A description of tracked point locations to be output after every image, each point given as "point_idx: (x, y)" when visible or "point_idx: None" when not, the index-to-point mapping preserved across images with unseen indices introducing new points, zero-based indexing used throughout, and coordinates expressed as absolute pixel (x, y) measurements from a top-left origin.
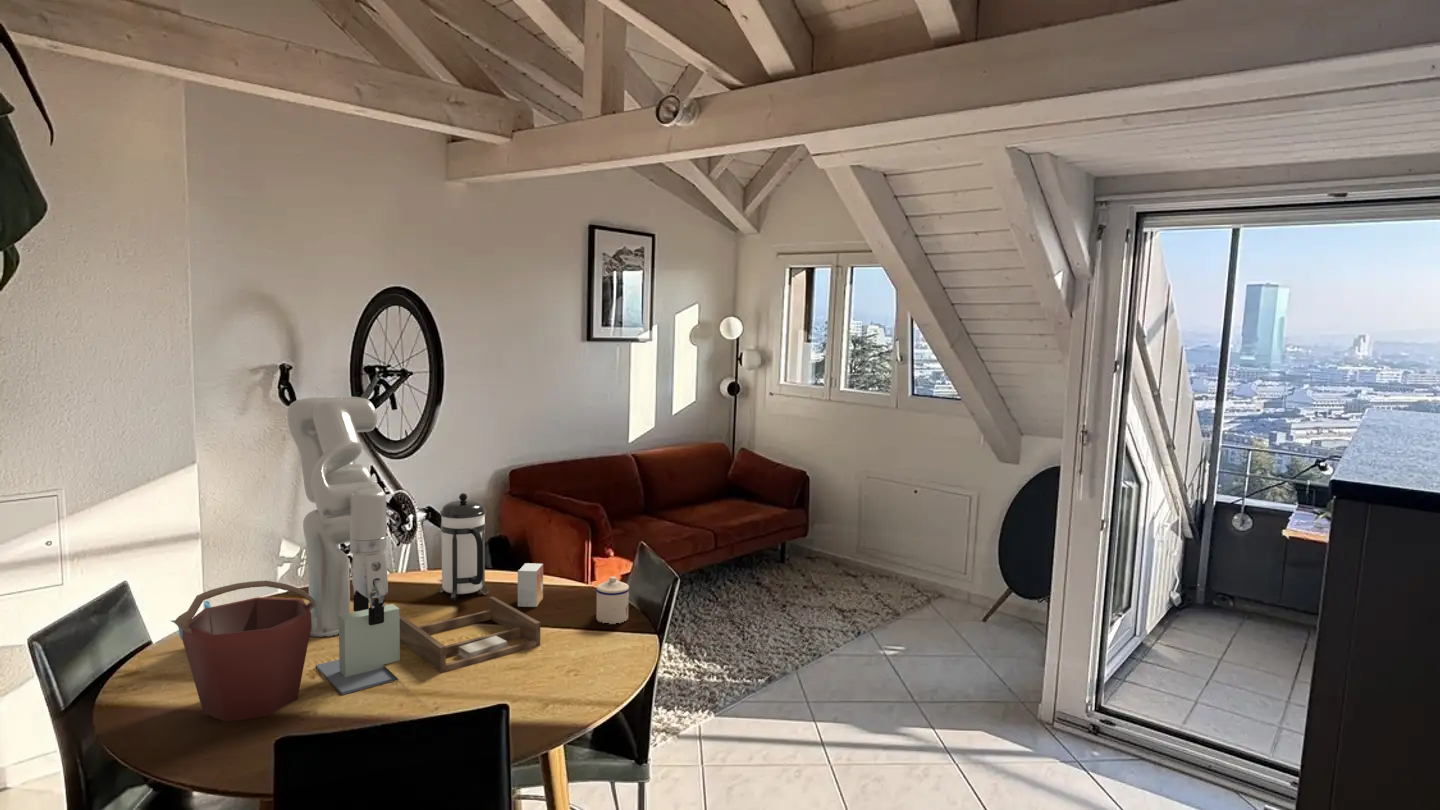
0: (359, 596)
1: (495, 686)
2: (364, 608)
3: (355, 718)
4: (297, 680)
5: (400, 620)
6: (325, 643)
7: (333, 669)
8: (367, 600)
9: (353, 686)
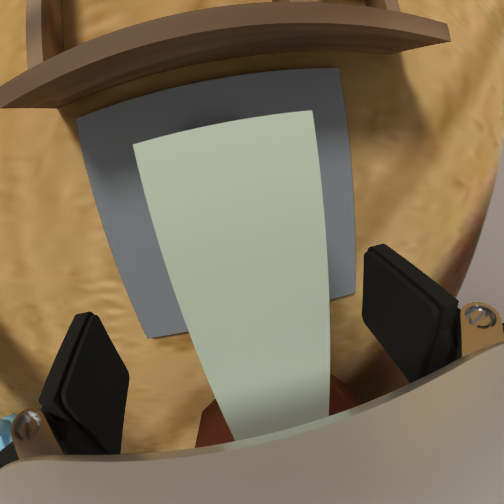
0: (102, 436)
1: (462, 4)
2: (103, 338)
3: (450, 269)
4: (339, 391)
5: (24, 96)
6: (5, 298)
7: None
8: (81, 361)
9: (340, 267)
